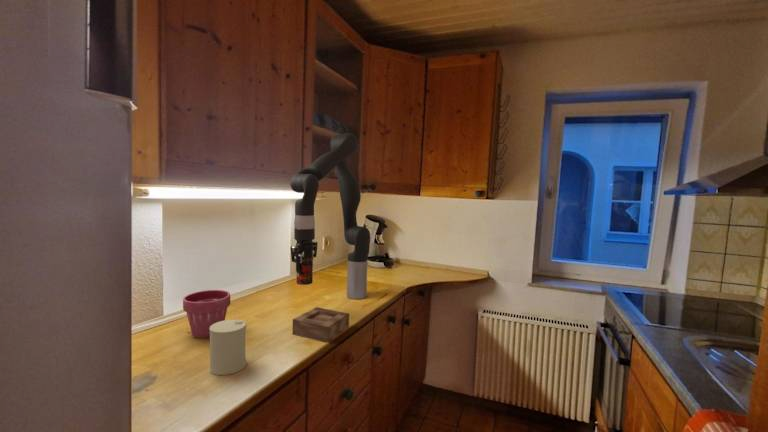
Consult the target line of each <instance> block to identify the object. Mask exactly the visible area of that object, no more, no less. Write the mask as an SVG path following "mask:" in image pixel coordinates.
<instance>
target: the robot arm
mask: <svg viewBox="0 0 768 432" xmlns="http://www.w3.org/2000/svg"><path fill="white" fill-rule="evenodd" d="M358 140H359V139H358V137H357V136H356V135H355V134H354V133H350V132H347V133H345V132H344V133H340V134H339V133H338V134H334V135H333V136H332V137H331V139H330V142H329V143H330V151H328V152H326V153H324V154H322V155H321V156H319V157H317V158H316V160H314V161H313V162H312V163H311V164H310V165H308V166H307V167H304V168H303V169H301V170H300V171H298V172H296V173H295V174H294V175H293V176H292V177H291V179H290V182H289V183H290V185H289V186H290V188H291V190H292V191H293V192H295V193H299V194H303V196H302V198H300V199H297V200H295V202H294V222H293V223H294V224H293V225H294V227H293V228H294V229H293V230H294V235H293V237H294V238H293V239H294V240H295V241H296V243H295V245H294V246H293V245H291V246H290V258H291V259H290V260H291V262H292V263H295V272H296V274H297V273H302V260H303V257H304V251H303V253H302V254H298V251H301V252H302V250H303V245H306V244H310V243H312V244H313V260H314V259H315V258H317V254H318V242H317V241H314V240H315V237H316V230H315V229H316V225H315V224H316V221H315V202H316V200H317V196H318V192H319V186H320V185H319V184H320V183H319V182H320V181H321V180H323V179H324V178H325V177H326V176H327V175H328V174H329V173H330V172H331V171H332V170H333V169H335V172H336V176H337V177H336V178H337V183H338V189H339V198H340V202H341V209H342V210H341V211H342V217H343V234H344V240H345V242H346V244H348V245H350V246H354V250H353V251H352V252H350V253H348V255H347V271H346V274H347V275H346V277H347V278H346V298H348V299H352V300H361V299H365V298H366V297H367V293H368V292H367V291H368V290H367V289H368V288H367V287H368V257H369V255H370V245H371V233H370V230H369V228H367V227H366V226H360V225H358V221H357V213H358V212H357V211H358V208H359V205H360V203H361V197H362V195H361V189H360V188H361V187H360V183H359V181H358V179H357V177H356V176H355V175H354V174H353V172H352V171H351V169H350V167H349V166H348V162H347V159H348V158H349V157H350V156H352V155H354V154H355V153H356V152H357V150H358V148H359V141H358ZM299 257H300V260H299Z"/></svg>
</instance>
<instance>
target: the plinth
mask: <svg viewBox="0 0 768 432" xmlns="http://www.w3.org/2000/svg"><path fill="white" fill-rule="evenodd" d="M349 324H350V313H348V312H345V311H344V312H343V311H338V310H333V309H328V308H323V307H317V306H315V307H314V308H312V309H310V310H309V311H306V312H305V313H303V314H301V315H299V316H297V317H295V318H292V335H295V336H298V337H303V338H306V339H310V338H311V339H310V340H314V339H315V341H320V342H323V343H329V342H330V341H332V340H333V339H335V338H336V337H338V336H339V335H340V334H343V332H344V331H346V330H348V329H349V327H350V325H349Z"/></svg>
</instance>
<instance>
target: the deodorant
mask: <svg viewBox="0 0 768 432" xmlns="http://www.w3.org/2000/svg"><path fill="white" fill-rule="evenodd" d="M303 251H304V257H303V260H302V273H297V272H296V284H297V285H301V286H306V285H307V286H308V285H311V284H312V283H313V274H314V273H313V269H314V264H313V263H314V259H313V254H314V251H313V244H312V243H310V244H306V245H303V250H302V252H301V251H298V254H302V253H303ZM299 260H300V257H299Z"/></svg>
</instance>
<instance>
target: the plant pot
mask: <svg viewBox="0 0 768 432" xmlns="http://www.w3.org/2000/svg"><path fill="white" fill-rule="evenodd" d="M230 305H231V293H230V292H229V291H227V290H223V289H207V290H202V291H201V290H200V291H195V292H192V293H189V294H187V295H186V296H184V297H183V300H182V310H183V311H184V312H185V313H186V316H187V319H188V323H189V327H190V331H191V334H192V337H194V338H199V339H204V338H210V329H209V328H210V326H211V325H212V324H214V323H217V322H220V321H224V320H226V316H227V312H228V307H230Z"/></svg>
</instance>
